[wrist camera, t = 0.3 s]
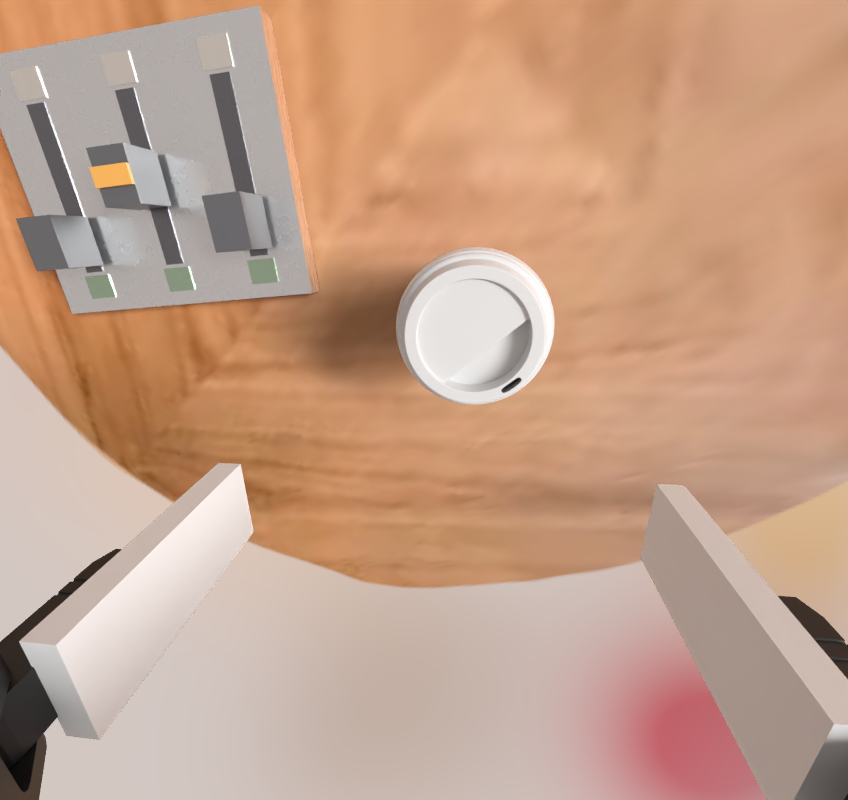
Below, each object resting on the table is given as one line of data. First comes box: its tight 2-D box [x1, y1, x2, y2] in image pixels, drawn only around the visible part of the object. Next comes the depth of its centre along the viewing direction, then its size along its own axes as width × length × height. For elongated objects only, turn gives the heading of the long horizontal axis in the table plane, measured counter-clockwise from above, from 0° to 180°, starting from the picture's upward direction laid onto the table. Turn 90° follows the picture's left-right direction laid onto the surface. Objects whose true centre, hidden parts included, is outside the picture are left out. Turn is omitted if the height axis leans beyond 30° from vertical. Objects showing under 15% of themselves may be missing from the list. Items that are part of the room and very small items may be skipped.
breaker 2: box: [86, 143, 171, 210], centre depth 33 cm, size 4×3×4 cm
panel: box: [0, 6, 320, 314], centre depth 36 cm, size 20×24×2 cm
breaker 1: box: [16, 215, 104, 271], centre depth 35 cm, size 4×3×4 cm
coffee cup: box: [396, 247, 554, 405], centre depth 31 cm, size 10×10×15 cm
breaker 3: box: [202, 191, 272, 253], centre depth 33 cm, size 4×3×4 cm
